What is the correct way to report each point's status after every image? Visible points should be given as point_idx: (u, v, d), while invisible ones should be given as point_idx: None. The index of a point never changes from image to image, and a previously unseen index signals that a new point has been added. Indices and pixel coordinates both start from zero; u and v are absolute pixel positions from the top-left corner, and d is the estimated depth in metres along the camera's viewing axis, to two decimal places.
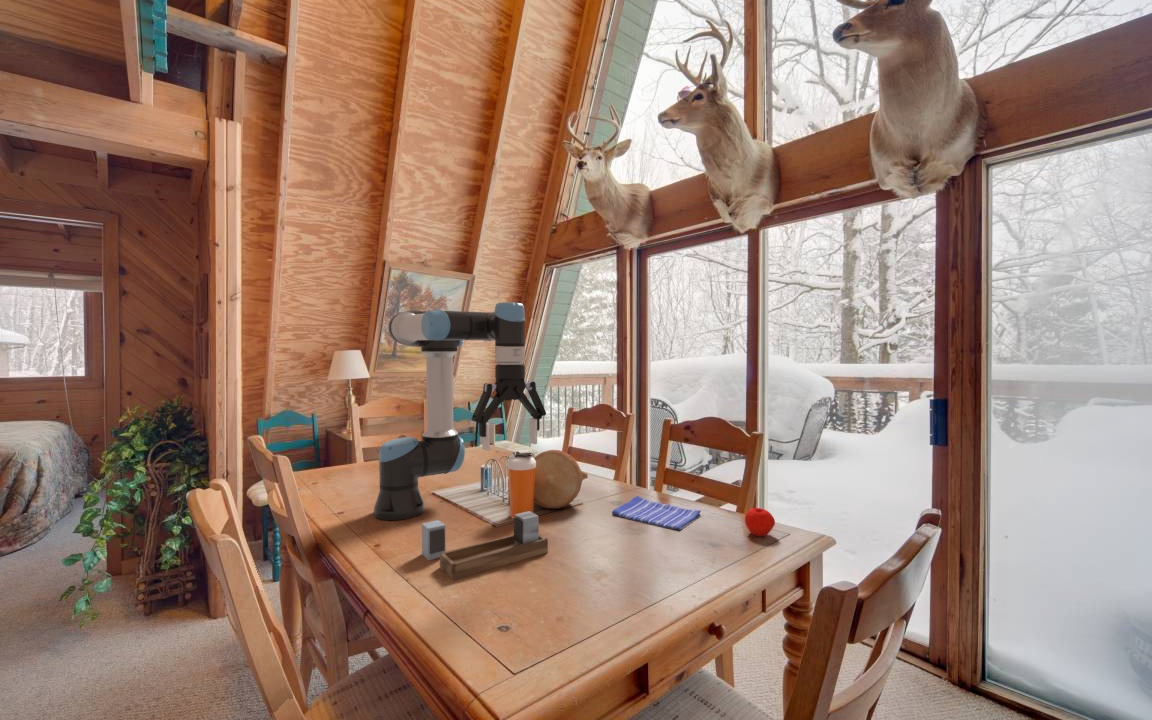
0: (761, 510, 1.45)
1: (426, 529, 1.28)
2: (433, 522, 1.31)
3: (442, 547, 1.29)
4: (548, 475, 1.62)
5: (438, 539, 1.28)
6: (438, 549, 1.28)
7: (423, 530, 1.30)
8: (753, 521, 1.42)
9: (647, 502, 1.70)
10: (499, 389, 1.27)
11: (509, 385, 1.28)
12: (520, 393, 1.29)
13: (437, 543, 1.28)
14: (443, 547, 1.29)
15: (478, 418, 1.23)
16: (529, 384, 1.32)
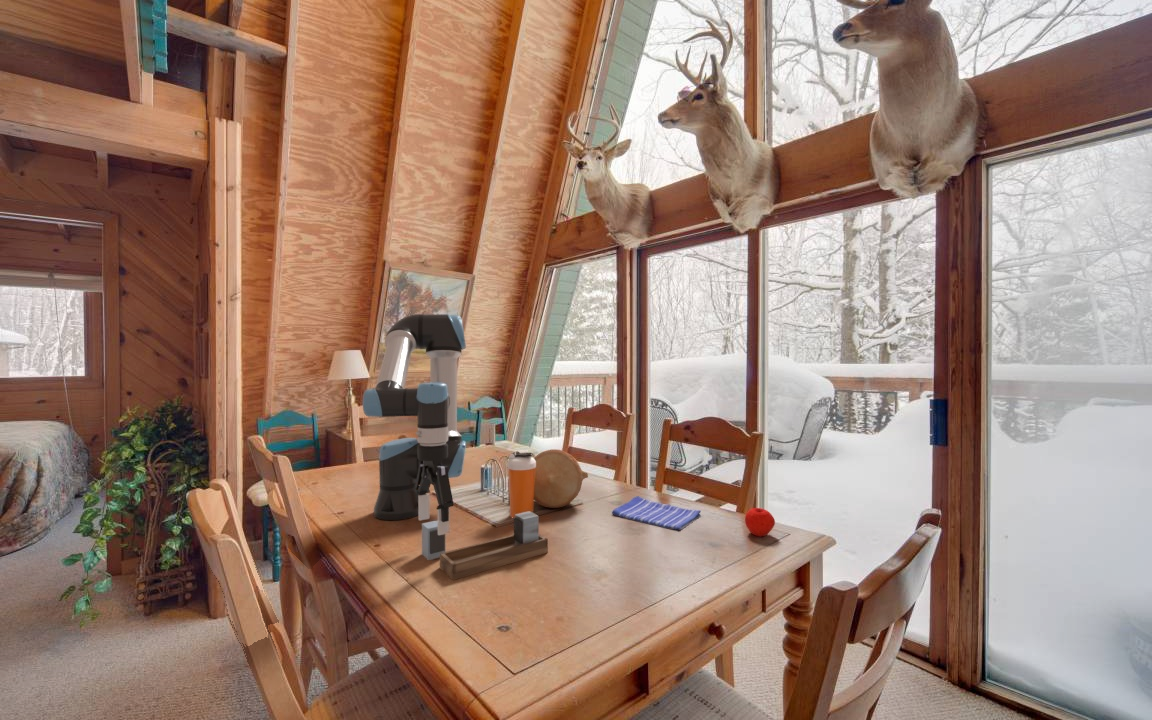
0: (761, 510, 1.45)
1: (426, 529, 1.28)
2: (433, 522, 1.31)
3: (442, 547, 1.29)
4: (548, 474, 1.63)
5: (438, 539, 1.28)
6: (438, 549, 1.28)
7: (423, 530, 1.30)
8: (753, 521, 1.42)
9: (647, 502, 1.70)
10: (424, 466, 1.32)
11: (427, 464, 1.30)
12: (429, 475, 1.27)
13: (437, 543, 1.28)
14: (443, 547, 1.29)
15: (415, 487, 1.36)
16: None
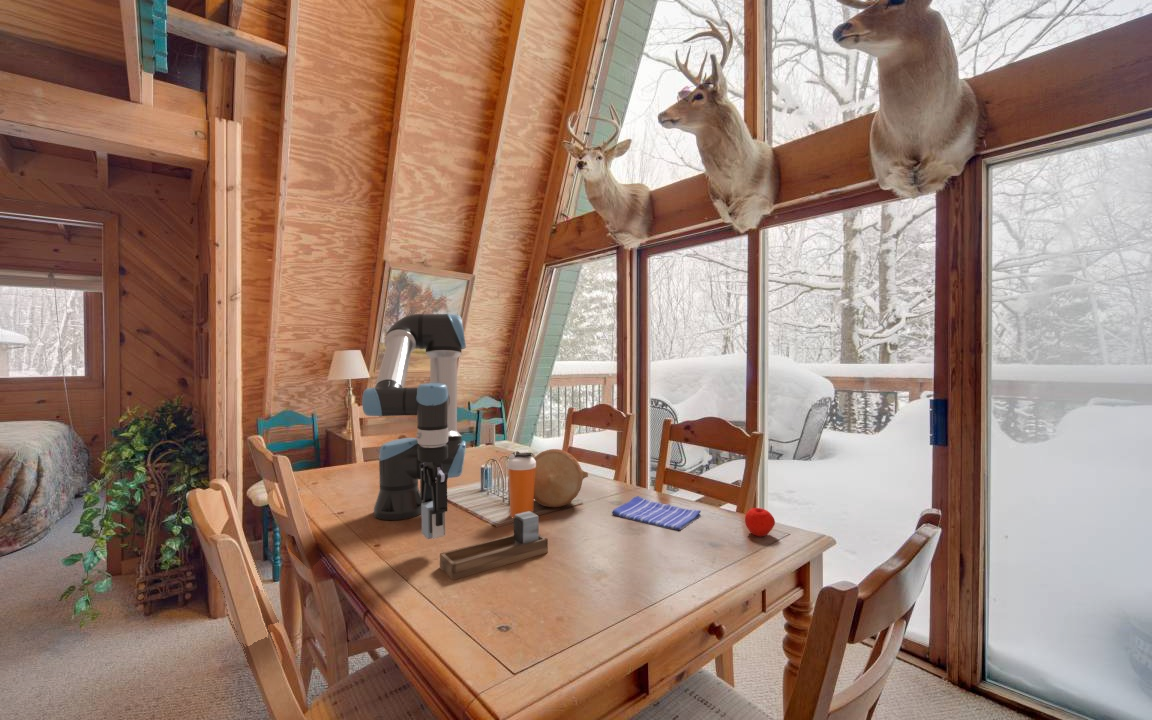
0: (761, 510, 1.45)
1: (425, 508, 1.29)
2: (432, 502, 1.32)
3: None
4: (549, 474, 1.64)
5: None
6: None
7: (423, 510, 1.30)
8: (753, 521, 1.42)
9: (647, 502, 1.70)
10: (424, 467, 1.32)
11: None
12: (428, 476, 1.28)
13: None
14: None
15: (420, 497, 1.34)
16: None
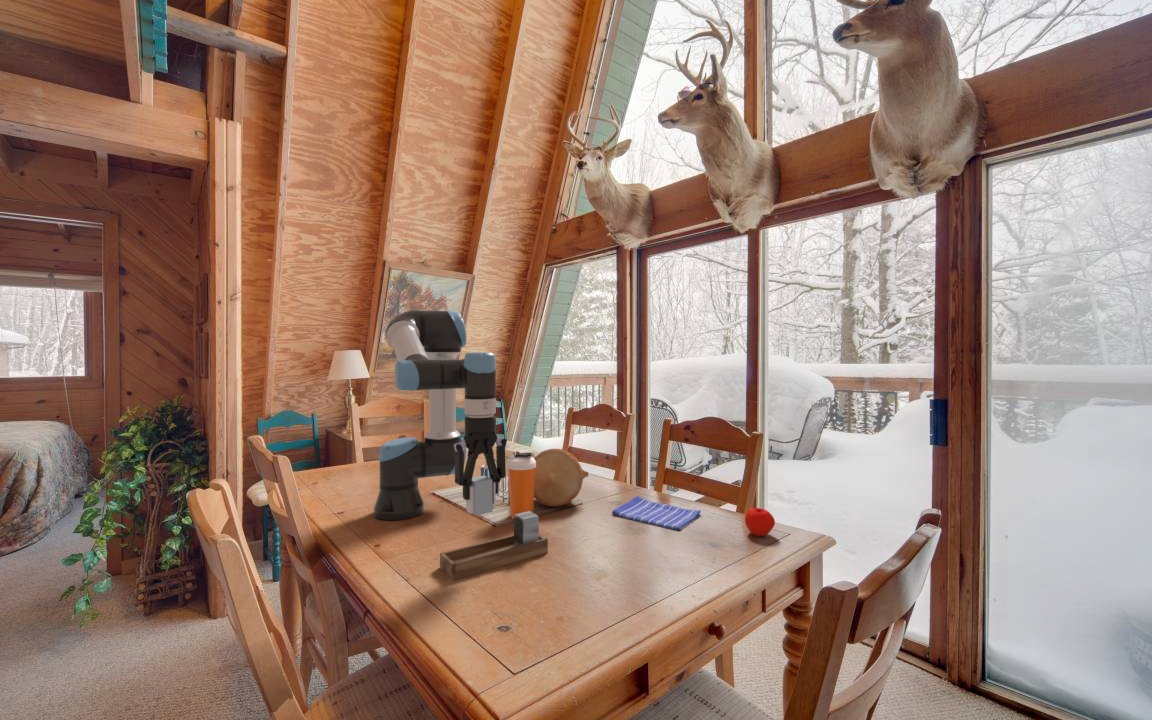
0: (761, 510, 1.45)
1: (487, 482, 1.23)
2: (474, 479, 1.24)
3: None
4: (549, 473, 1.64)
5: None
6: None
7: (479, 487, 1.22)
8: (753, 521, 1.42)
9: (647, 502, 1.70)
10: (469, 444, 1.21)
11: (478, 435, 1.23)
12: (489, 447, 1.24)
13: None
14: None
15: (461, 481, 1.20)
16: (500, 440, 1.27)
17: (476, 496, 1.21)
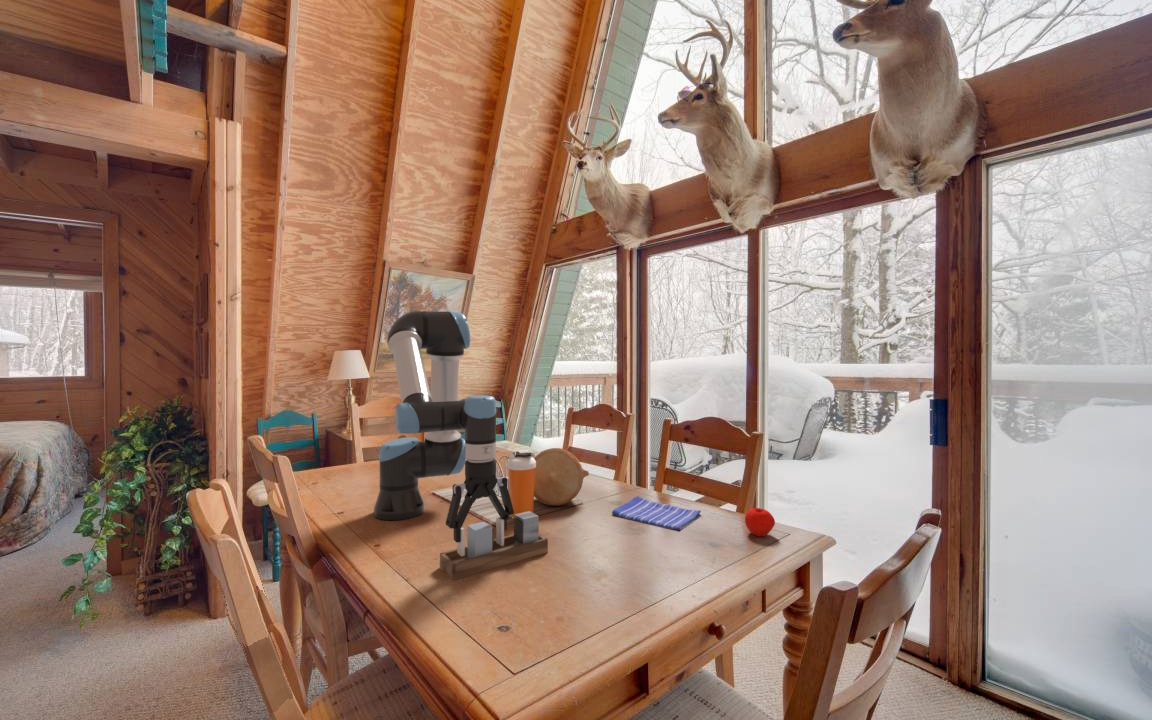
0: (761, 510, 1.45)
1: (487, 530, 1.24)
2: (474, 526, 1.24)
3: None
4: (550, 473, 1.65)
5: None
6: None
7: (479, 535, 1.22)
8: (753, 521, 1.42)
9: (647, 502, 1.70)
10: (469, 488, 1.22)
11: (479, 481, 1.23)
12: (490, 490, 1.24)
13: None
14: None
15: (452, 524, 1.19)
16: (501, 480, 1.27)
17: (476, 544, 1.22)
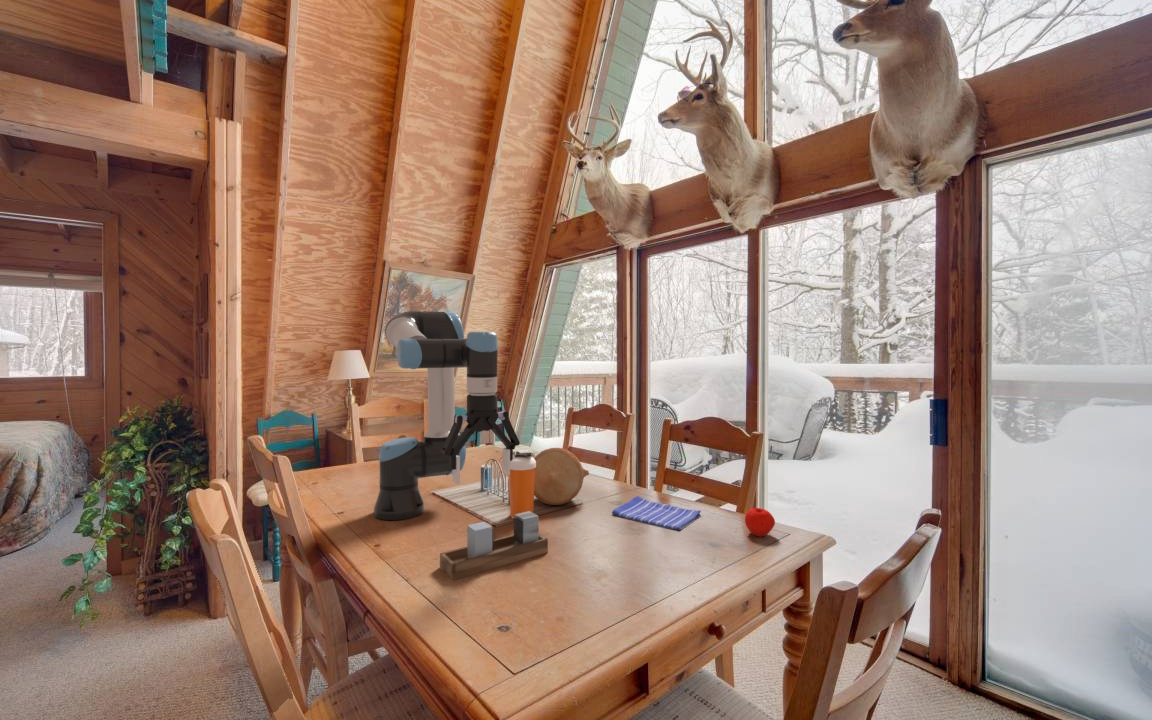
0: (761, 510, 1.45)
1: (487, 530, 1.24)
2: (474, 526, 1.24)
3: None
4: (550, 472, 1.66)
5: None
6: None
7: (479, 535, 1.22)
8: (753, 521, 1.42)
9: (647, 502, 1.70)
10: (470, 420, 1.24)
11: (481, 416, 1.25)
12: (492, 424, 1.27)
13: None
14: None
15: (447, 451, 1.21)
16: (502, 414, 1.30)
17: (476, 544, 1.22)
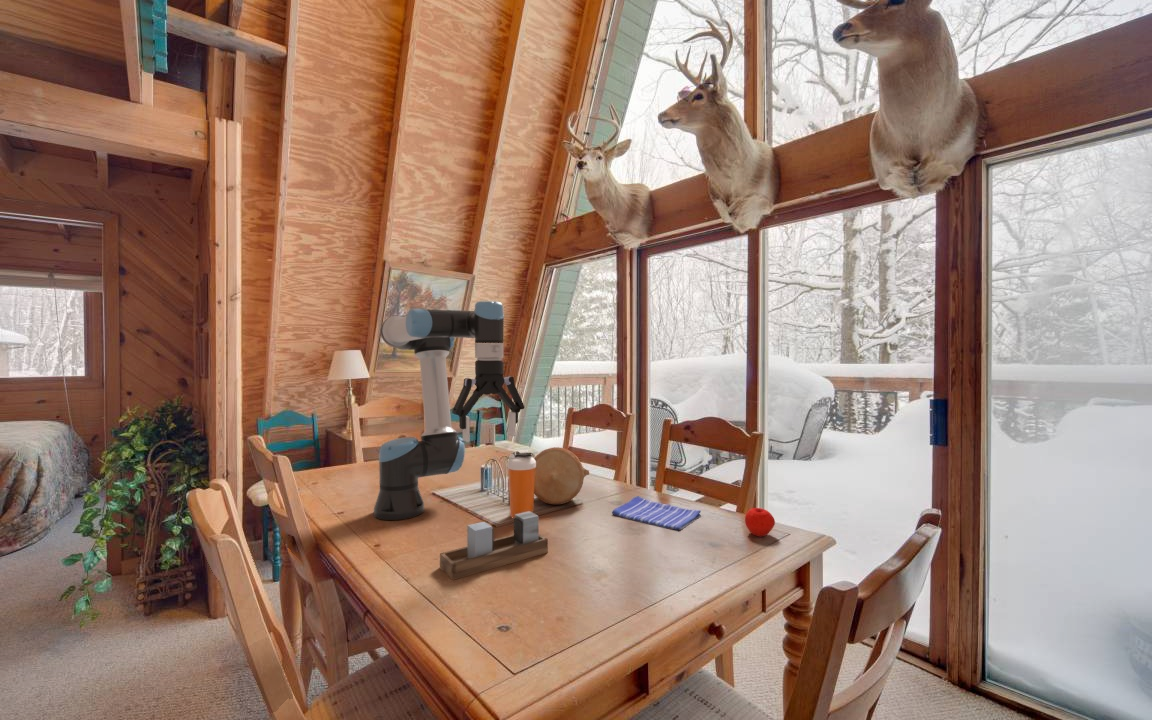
0: (761, 510, 1.45)
1: (487, 530, 1.24)
2: (474, 526, 1.24)
3: None
4: (551, 472, 1.66)
5: None
6: None
7: (479, 535, 1.22)
8: (753, 521, 1.42)
9: (647, 502, 1.70)
10: (478, 384, 1.33)
11: (488, 380, 1.35)
12: (499, 387, 1.36)
13: None
14: None
15: (458, 411, 1.30)
16: (508, 379, 1.39)
17: (476, 544, 1.22)
